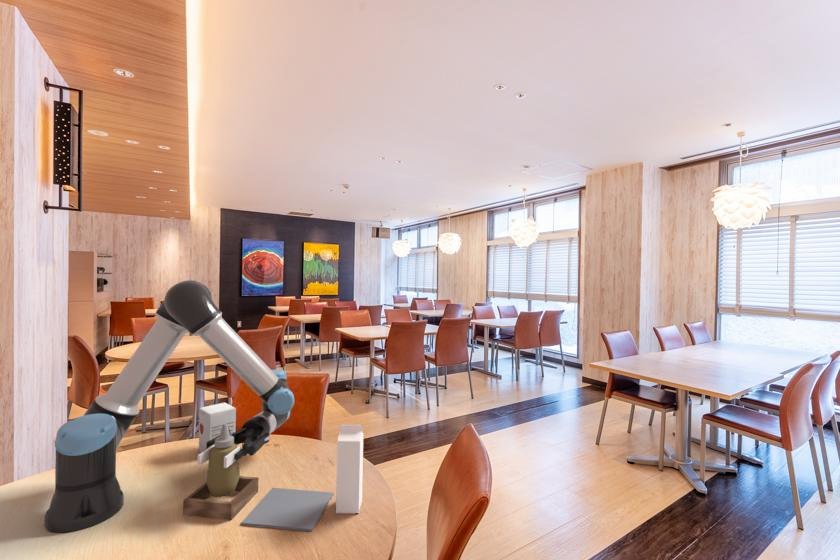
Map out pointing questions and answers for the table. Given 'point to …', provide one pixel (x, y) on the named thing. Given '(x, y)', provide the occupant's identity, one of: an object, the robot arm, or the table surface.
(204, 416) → the supplement box
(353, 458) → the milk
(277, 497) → the slate mat
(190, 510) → the walnut tray
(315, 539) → the table surface
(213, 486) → the squeeze bottle
